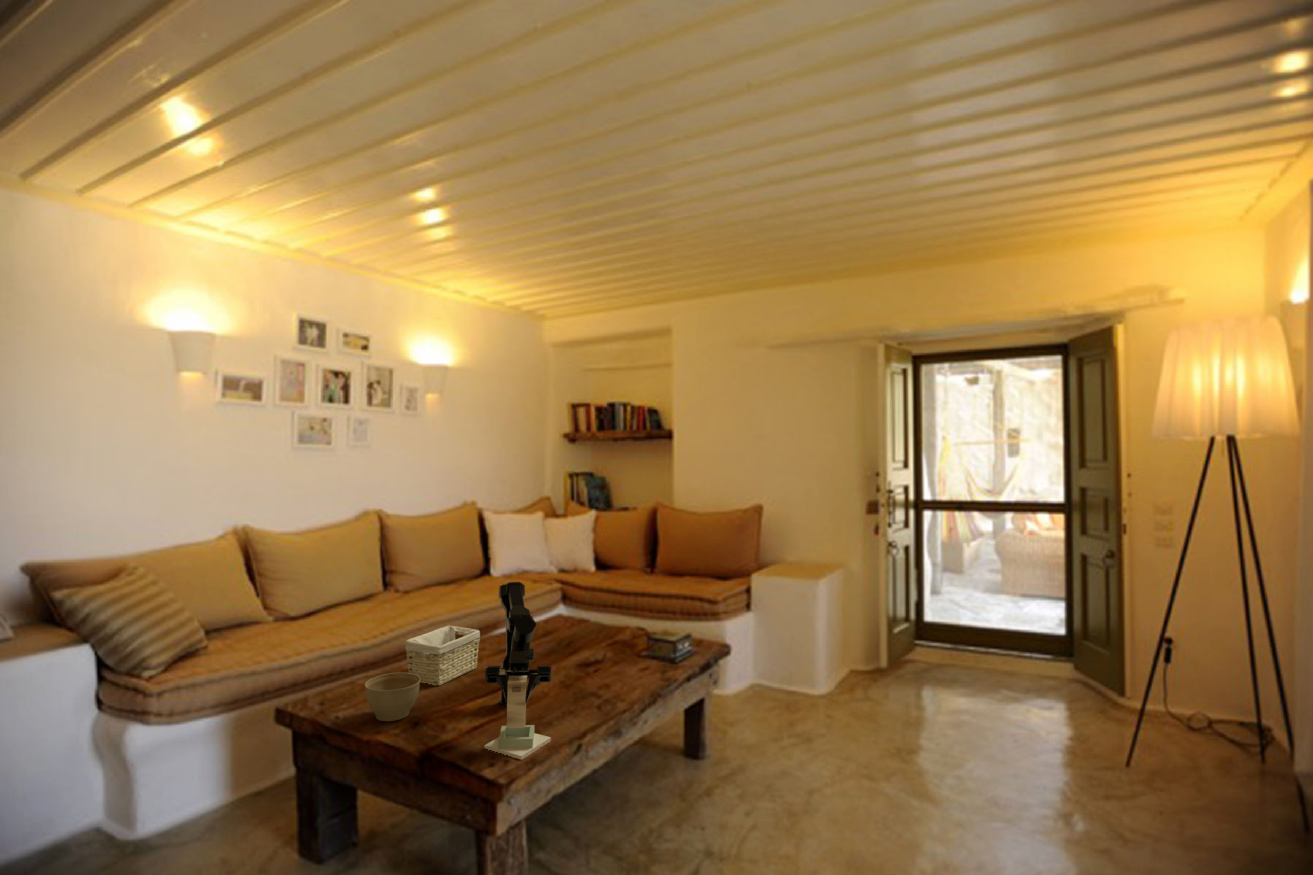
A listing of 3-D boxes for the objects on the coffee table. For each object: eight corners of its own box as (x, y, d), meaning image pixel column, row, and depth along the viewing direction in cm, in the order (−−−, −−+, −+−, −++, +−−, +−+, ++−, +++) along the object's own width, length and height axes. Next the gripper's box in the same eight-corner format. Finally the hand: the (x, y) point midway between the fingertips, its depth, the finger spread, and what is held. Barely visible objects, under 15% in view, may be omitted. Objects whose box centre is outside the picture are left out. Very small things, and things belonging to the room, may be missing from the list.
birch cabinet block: (508, 720, 195) (509, 675, 195) (525, 720, 196) (527, 675, 196) (506, 729, 190) (507, 682, 190) (524, 728, 190) (525, 682, 190)
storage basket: (437, 688, 235) (438, 646, 235) (401, 681, 242) (403, 639, 242) (481, 668, 257) (482, 629, 257) (447, 662, 264) (448, 624, 264)
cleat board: (513, 730, 202) (513, 719, 202) (550, 740, 196) (551, 728, 196) (482, 748, 190) (483, 736, 190) (521, 759, 184) (521, 746, 184)
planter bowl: (402, 701, 222) (403, 668, 222) (429, 715, 212) (430, 680, 212) (354, 716, 210) (355, 681, 210) (380, 731, 199) (382, 694, 200)
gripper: (486, 638, 196) (480, 690, 185) (552, 637, 198) (549, 689, 187) (489, 656, 204) (483, 707, 193) (552, 656, 206) (549, 706, 195)
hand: (516, 702), depth 192 cm, fingers closed on birch cabinet block, 5 cm apart
